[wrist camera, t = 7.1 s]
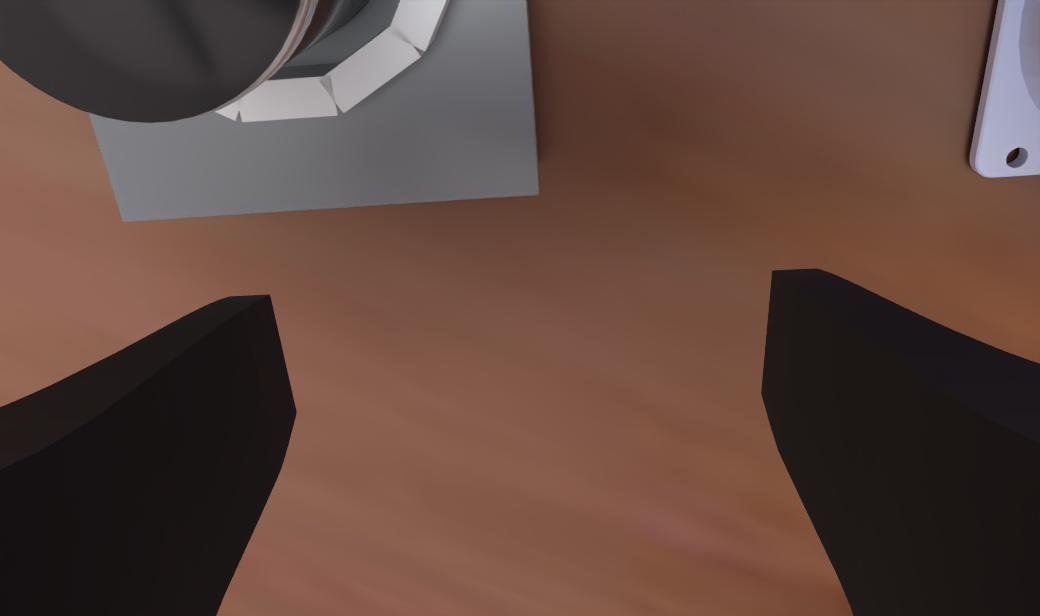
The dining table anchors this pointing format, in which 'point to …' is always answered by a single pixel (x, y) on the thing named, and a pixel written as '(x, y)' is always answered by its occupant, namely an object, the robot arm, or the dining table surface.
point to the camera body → (352, 122)
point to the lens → (160, 50)
